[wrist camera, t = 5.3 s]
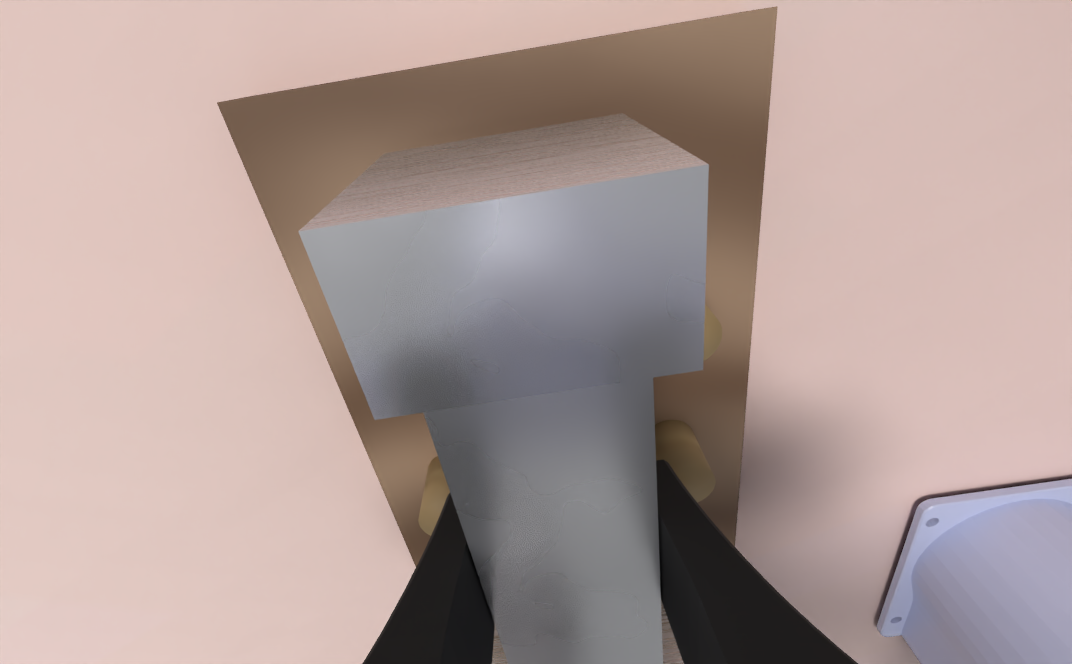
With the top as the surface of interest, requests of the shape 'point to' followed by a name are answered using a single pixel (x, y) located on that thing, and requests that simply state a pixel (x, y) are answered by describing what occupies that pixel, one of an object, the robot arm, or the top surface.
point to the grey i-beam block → (533, 357)
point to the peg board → (524, 103)
